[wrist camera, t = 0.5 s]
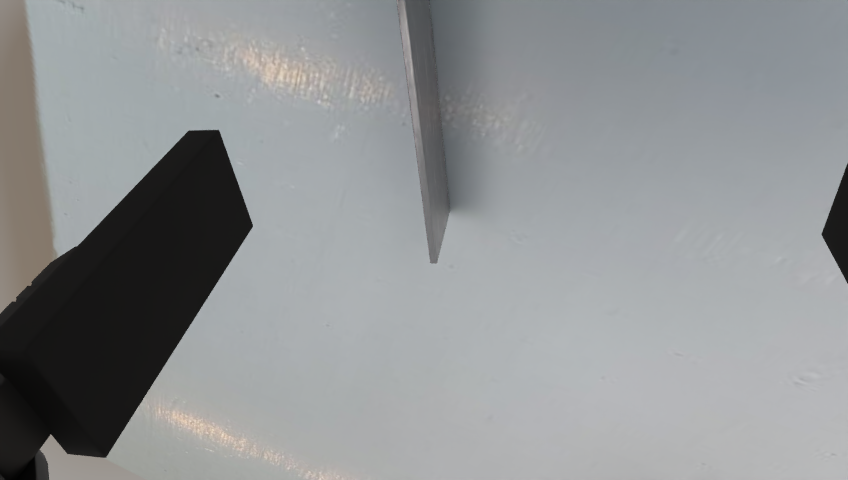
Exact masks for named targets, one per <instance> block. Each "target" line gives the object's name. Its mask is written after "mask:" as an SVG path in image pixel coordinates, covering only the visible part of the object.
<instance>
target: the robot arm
mask: <svg viewBox="0 0 848 480" xmlns="http://www.w3.org/2000/svg"><path fill="white" fill-rule="evenodd" d="M252 227H253V224H252V222H251V219H250V216H249V213H248V210H247V207H246V205H245V202H244V199H243V196H242V193H241V191H240V188H239V185H238V182H237V179H236V177H235V174H234V171H233V168H232V165H231V163H230V160H229V157H228V154H227V151H226V149H225V146H224V143H223V140H222V137H221V134H220V132H219V130H196V131H188V132H187V133H186V134H185V135H184V136H183V137H182V138H181V139H180V140H179V141H178V142H177V143H176V144H175V145H174V147H173V148H172V149H171V150H170V151H169V152H168V153H167V154H166V155H165V156H164V157H163V158H162V159H161V160H160V161H159V162H158V163H157V164H156V165H155V166H154V167H153V168H152V169H151V170H150V171H149V173H148V174H147V175H146V176H145V177H144V178H143V179H142V180H141V181H140V182H139V183H138V184H137V185H136V186H135V187H134V188H133V189H132V190H131V191H130V192H129V193H128V194H127V195H126V196H125V197H124V199H123V200H122V201H121V202H120V203H119V204H118V205H117V206H116V207H115V208H114V209H113V210H112V211H111V212H110V213H109V214H108V215H107V216H106V217H105V218H104V219H103V220H102V221H101V222H100V224H99V225H98V226H97V227H96V228H95V229H94V230H93V231H92V232H91V233H90V234H89V235H88V236H87V237H86V238H85V239H84V240H83V241H82V242H81V243H80V244H79V245H78V246H77V247H74V248H72V249H71V250H69V251H68V252H66V253H65V254H63V255H62V256H60V257H59V258H57V259H56V260H54V261H53V262H51V263H50V264H49V265H48V266H47V267H46V268H45V269H44V270H43V271H42V272H41V273H40V274H39V275H38V276H37V277H36V278H35V279H34V280H33V281H32V285H31V286H27V287H26V288H25V289H24V290H23V291H22V292H21V293H20V294H19V295H18V296H17V297H16V298H17V300H16V302H11V303H10V304H9V305H8V306H7V307H6V308H5V309H4V311H3V312H2V313H1V314H0V480H49V473H48V463H47V461H46V458H45V456H44V454H43V453H42V452H41V451H40V450H39V449H40V448H41V447H42V445H43V444H44V442H45V441H46V440H47V438H48V437H49V436H50V434H51V435H52V436H53V437H54V438H55V439H56V441H57V442H58V443H59V444H60V445H61V447H62V448H63V449H64V450H65V451H66V453H67V454H74V455H84V456H93V457H102V458H106V456H107V455H108V453H109V452H110V450H111V449H112V447H113V445H114V444H115V442H116V441H117V439H118V438H119V436H120V434H121V433H122V431H123V430H124V428H125V427H126V425H127V423H128V422H129V420H130V419H131V417H132V416H133V414H134V412H135V411H136V409H137V408H138V406H139V405H140V403H141V401H142V400H143V398H144V397H145V395H146V394H147V392H148V390H149V389H150V387H151V386H152V384H153V383H154V381H155V379H156V378H157V376H158V375H159V373H160V372H161V370H162V368H163V367H164V365H165V364H166V362H167V361H168V359H169V357H170V356H171V354H172V353H173V351H174V350H175V348H176V346H177V345H178V343H179V342H180V340H181V339H182V337H183V335H184V334H185V332H186V331H187V329H188V328H189V326H190V324H191V323H192V321H193V320H194V318H195V317H196V315H197V313H198V312H199V310H200V309H201V307H202V306H203V304H204V302H205V301H206V299H207V298H208V296H209V295H210V293H211V291H212V290H213V288H214V287H215V285H216V284H217V282H218V280H219V279H220V277H221V276H222V274H223V273H224V271H225V269H226V268H227V266H228V265H229V263H230V262H231V260H232V258H233V257H234V255H235V254H236V252H237V251H238V249H239V247H240V246H241V244H242V243H243V241H244V240H245V238H246V236H247V235H248V233H249V232H250V230H251V229H252ZM822 236H823V238H824V240H825V242H826V244H827V246H828V248H829V249H830V251H831V253H832V255H833V257H834V259H835V261H836V262H837V264H838V266H839V268H840V270H841V272H842V274H843V275H844V277H845V279H846V281H847V283H848V164H847V167H846V169H845V172H844V175H843V177H842V180H841V183H840V186H839V188H838V191H837V194H836V196H835V199H834V202H833V205H832V207H831V210H830V213H829V216H828V218H827V221H826V224H825V226H824V229H823V232H822Z"/></svg>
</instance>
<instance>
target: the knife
mask: <svg viewBox="0 0 848 480" xmlns="http://www.w3.org/2000/svg"><path fill="white" fill-rule="evenodd" d="M397 7H398V15H399V23H400V31H401V38H402V46H403V54H404V62H405V69H406V77H407V85H408V93H409V100H410V108H411V116H412V124H413V132H414V139H415V147H416V155H417V163H418V170H419V178H420V186H421V194H422V201H423V209H424V217H425V225H426V233H427V240H428V248H429V256H430V263H437V261H438V257H439V253H440V249H441V245H442V241H443V237H444V233H445V229H446V225H447V221H448V217H449V213H450V206H449V196H448V185H447V175H446V165H445V155H444V144H443V134H442V124H441V113H440V103H439V93H438V83H437V72H436V62H435V52H434V41H433V31H432V21H431V10H430V0H397Z"/></svg>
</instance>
